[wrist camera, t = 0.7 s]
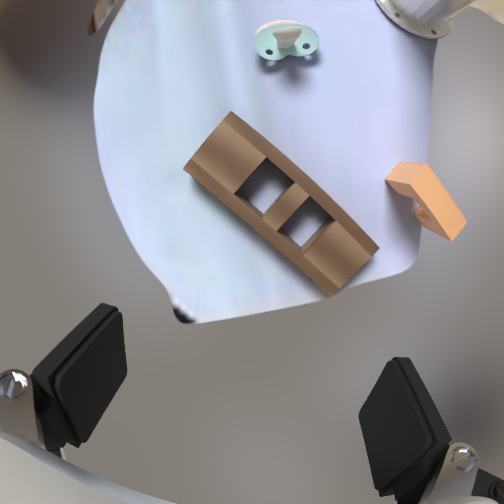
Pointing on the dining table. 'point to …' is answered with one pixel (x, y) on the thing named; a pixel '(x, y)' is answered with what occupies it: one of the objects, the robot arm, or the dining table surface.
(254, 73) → the dining table surface
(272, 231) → the rail
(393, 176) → the clip
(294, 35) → the pacifier
